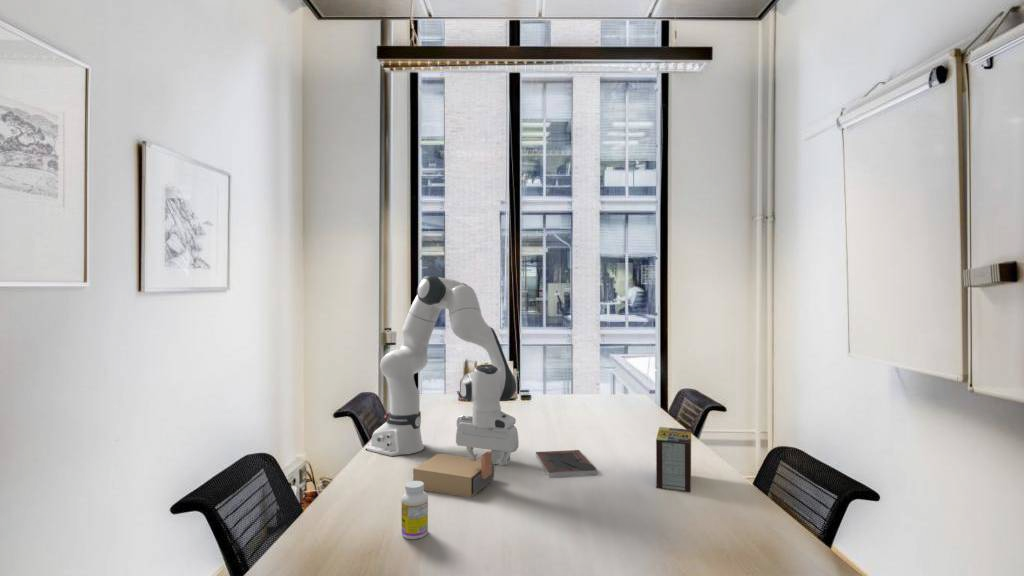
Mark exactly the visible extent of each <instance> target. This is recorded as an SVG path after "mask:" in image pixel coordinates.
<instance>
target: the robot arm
mask: <svg viewBox="0 0 1024 576" xmlns="http://www.w3.org/2000/svg"><path fill="white" fill-rule="evenodd" d="M411 303H412V304H411V305H410V308H409V311H408V313H407V316H406V318H405V321H404V323H403V326H402V328H401V332H402V335H403V336H402V342H401V345H400V347H399V348H397V349H393V350H391V351H389V352H388V353H386V354H385V355H384V356H383V357H382V358H381V360H380V363H379V369H380V371H381V374H382V376H384V377H385V379H386V382H387V386H388V389H389V397H390V398H389V402H390V403H389V405H390V409H389V411H390V412H388V413H387V414H385V415H384V419H386V421H385V422H384V423H383V424H382V425H381V426H379V427H378V428H377V429H375V430H374V431H373V433H372V436H371V441H370V442H368V443H367V444H366V445H365V446H364V447H365V448H364V450H365V449H367V450H366V451H369V452H373V453H378V454H380V455H381V454H382V455H385V456H389V457H396V456H401V455H410V454H415V453H419V452H422V451H423V450H424V449H425V446H424V442H423V438H422V432H421V423H422V419H421V418H422V412H421V411H420V406H421V404H420V403H421V402H420V401H421V400H420V395H421V394H420V390H419V389H418V387H417V386H416V381H415V374H418V373H420V372H421V371H422V370H423V369H424V368H425V367H426V366H427V364H428V361H429V355H428V350H429V343H430V339H431V337H432V334H433V331H434V329H435V326H436V323H437V321H438V318H439V315H440V313H441V311H442V310H443V309H445V310H448V316H449V317H448V318H449V321H450V322H449V323H450V326H451V327H450V328H451V331H452V332H453V334H454V335H455V336H456V337H457V338H459V339H460V340H462V341H465V342H469V343H472V344H475V345H477V346H479V347H481V348H483V349H484V350H485V351H486V352H487V354H488V357H489V359H490V362H491V364H479V365H477V366H475V367H474V368H473V371H471V372H468V373H466V374H464V375H463V376H462V378H461V379H460V381H459V394H460V397H461V398H462V399H463V400H464V401H465V402H468V403H473V405H472V411H471V412H472V416H469V415H468V416H465V415H461V416H459V417H458V418H457V420H456V434H455V443H456V446H459V447H460V446H461V447H464V448H465V447H466V451H467V454H468V456H469V458H470V461H476V459H478V458H477V455H478V454H477V453H476V454H475V452H474V450H473V449H474V448H475V449H482V450H487V451H491V450H496V451H500V454H501V455H502V456H501V457H500V458H498V459H497V465H496V466H504V465H503V461H504V457H505V455H506V454H507V452H510V454H511V453H514V452H516V451H517V450H518V448H519V446H520V445H519V433H518V429H517V427H516V426H515V424H516V422H517V421H516V418H515V417H514V416H513V415H510V414H508V413H506V412H503V411H501V410H502V407H501V402H508V401H510V399H512V398H513V397H514V395H515V394H516V391H517V382H516V378H515V376H514V374H513V372H512V370H511V369H510V367H509V364H508V362H507V358H506V356H505V353H504V351H503V348H502V346H501V344H500V343H501V342H500V340H499V338H498V336H497V333H496V331H495V329H494V328H493V327H491V326H489V325H488V323H487V322H486V321H485V319H484V318H483V316H482V311H481V306H480V303H479V299H478V296H477V294H476V291H475V290H474V289H473V287H472V286H469V285H468V284H466V283H464V282H460V281H458V280H455V279H452V278H445V277H440V276H436V275H426V276H423V277H422V279H421V280H420V281H419V283H418V285H417V287H416V296H415V298H414V300H413V301H412V302H411Z"/></svg>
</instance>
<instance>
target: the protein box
mask: <svg viewBox="0 0 1024 576" xmlns="http://www.w3.org/2000/svg"><path fill="white" fill-rule="evenodd" d="M655 444H656V445H655V446H656V447H655V448H656V451H655V452H656V453H655V455H656V457H655V461H656V462H655V463H656V464H655V468H656V469H655V472H656V473H655V475H656V477H655V479H656V481H655V482H656V484H655V485H656V487H655V489H659V488H660V489H661V490H668V491H675V492H676V491H677V492H683V493H684V492H687V493H691V491H692V489H691V488H692V429H691V428H690V429H687V428H677V427H666V426H665V427H664V426H659V427H658V431H657V435H656V438H655ZM660 489H659V490H660Z"/></svg>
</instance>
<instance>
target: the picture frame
mask: <svg viewBox="0 0 1024 576" xmlns="http://www.w3.org/2000/svg"><path fill="white" fill-rule="evenodd" d="M535 458H536V459H537V461H538V462H539V464H540V466H541V468H543V470H545V471H544V472H545V474H546V475H547V478H562V476H563V478H564V476H565V477H578V476H581V475H582V476H597V475H598V470H597V468H596V467H595V466H594V465H593V464H592V463H591V462H590V460H589V459H587V457H586V456H585V455H584V454H583V453H582V452H581V450H580V449H573V450H572V449H571V450H570V449H569V450H552V451H551V450H550V451H535Z"/></svg>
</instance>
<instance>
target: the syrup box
mask: <svg viewBox="0 0 1024 576" xmlns="http://www.w3.org/2000/svg"><path fill="white" fill-rule="evenodd" d="M490 451H492V461H493V464H494V465H495V464H497V459H498V458H500V457H501V456H502V455H501V454H500V451H496V450H490ZM510 461H511V452H507V454H506V455H505V457H504V461H503V465H502V466H507V465H508V464H509V462H510Z"/></svg>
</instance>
